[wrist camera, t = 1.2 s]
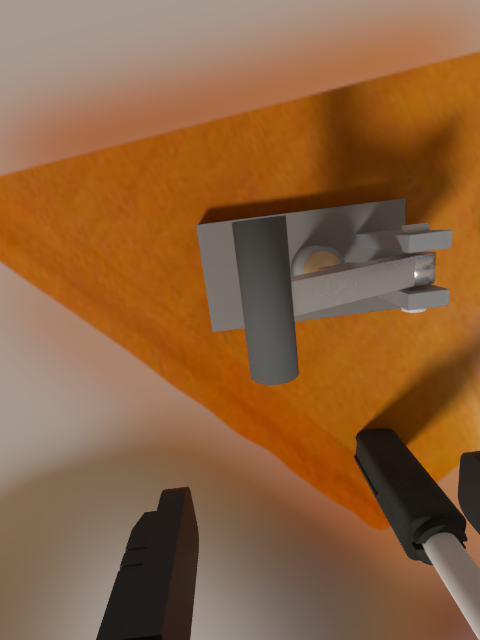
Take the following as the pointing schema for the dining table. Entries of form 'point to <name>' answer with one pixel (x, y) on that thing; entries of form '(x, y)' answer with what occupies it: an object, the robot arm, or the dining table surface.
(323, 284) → the lever
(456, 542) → the black and grey rod
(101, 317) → the dining table surface
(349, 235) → the base
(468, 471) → the robot arm
